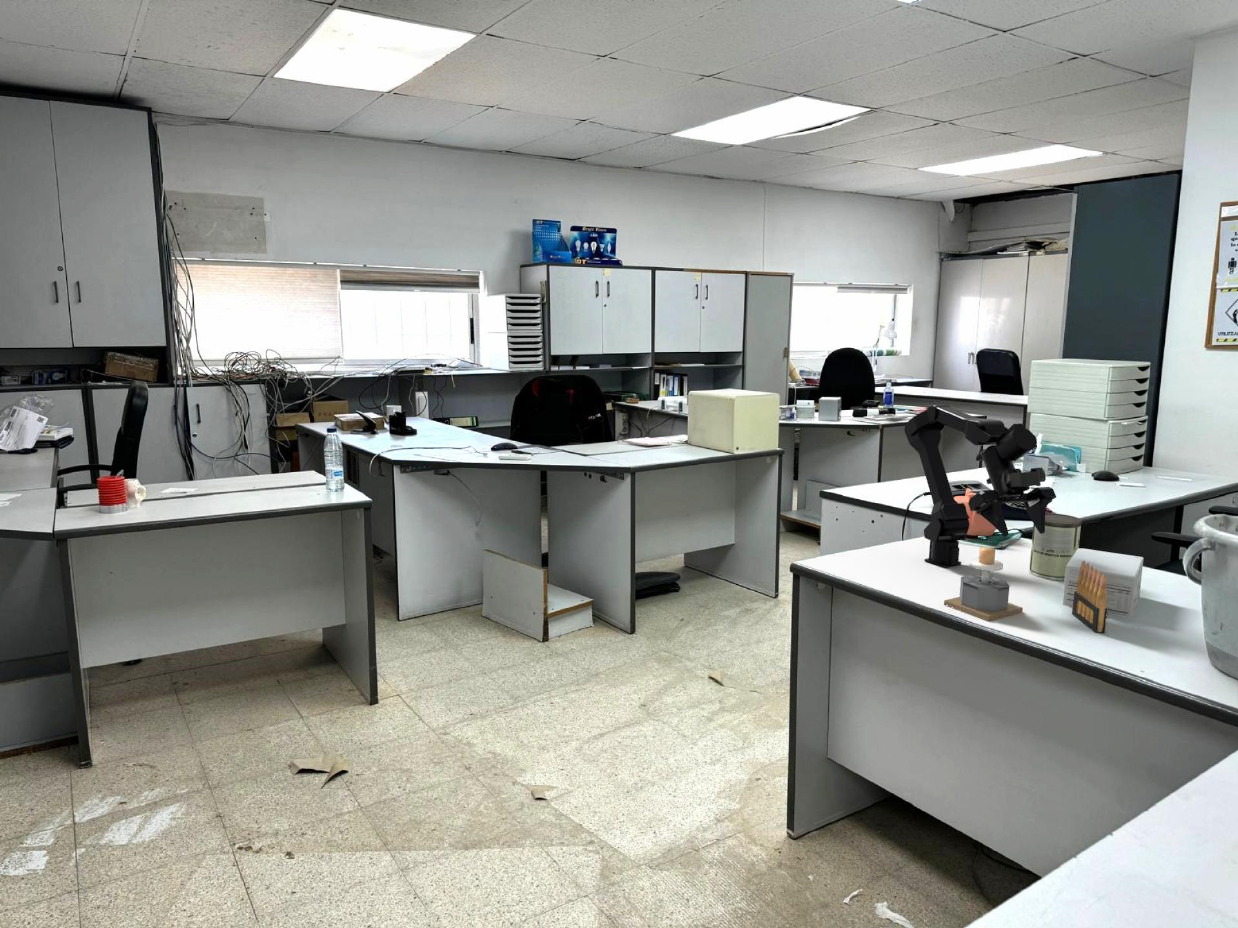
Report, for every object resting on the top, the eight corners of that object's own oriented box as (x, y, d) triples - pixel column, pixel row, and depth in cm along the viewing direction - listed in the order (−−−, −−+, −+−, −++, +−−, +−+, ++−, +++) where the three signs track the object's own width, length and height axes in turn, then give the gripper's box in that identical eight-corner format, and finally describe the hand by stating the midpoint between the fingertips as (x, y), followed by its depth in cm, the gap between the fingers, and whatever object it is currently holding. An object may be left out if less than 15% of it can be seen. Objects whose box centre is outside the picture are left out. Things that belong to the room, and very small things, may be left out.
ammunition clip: (1105, 633, 162) (1111, 575, 160) (1095, 633, 162) (1101, 574, 160) (1080, 614, 172) (1086, 559, 170) (1071, 613, 173) (1077, 559, 170)
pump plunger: (961, 586, 176) (964, 547, 175) (981, 581, 179) (984, 543, 178) (987, 595, 171) (990, 554, 169) (1007, 590, 174) (1010, 550, 172)
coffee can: (1021, 567, 205) (1026, 512, 202) (1065, 568, 204) (1070, 513, 201) (1038, 580, 195) (1044, 522, 192) (1084, 581, 194) (1090, 523, 191)
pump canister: (943, 604, 178) (945, 578, 177) (977, 596, 183) (980, 570, 182) (987, 620, 168) (990, 593, 167) (1022, 612, 174) (1024, 584, 172)
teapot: (988, 527, 244) (991, 487, 242) (1000, 544, 225) (1004, 501, 223) (940, 524, 247) (943, 484, 245) (948, 541, 228) (951, 498, 226)
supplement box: (1073, 585, 191) (1077, 546, 190) (1139, 597, 184) (1144, 556, 182) (1060, 605, 178) (1065, 564, 176) (1131, 618, 170) (1136, 575, 169)
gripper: (986, 456, 177) (1010, 523, 170) (1059, 452, 181) (1086, 518, 174) (957, 477, 186) (979, 542, 180) (1027, 474, 191) (1051, 537, 184)
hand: (1024, 534), depth 179 cm, fingers open, 9 cm apart
